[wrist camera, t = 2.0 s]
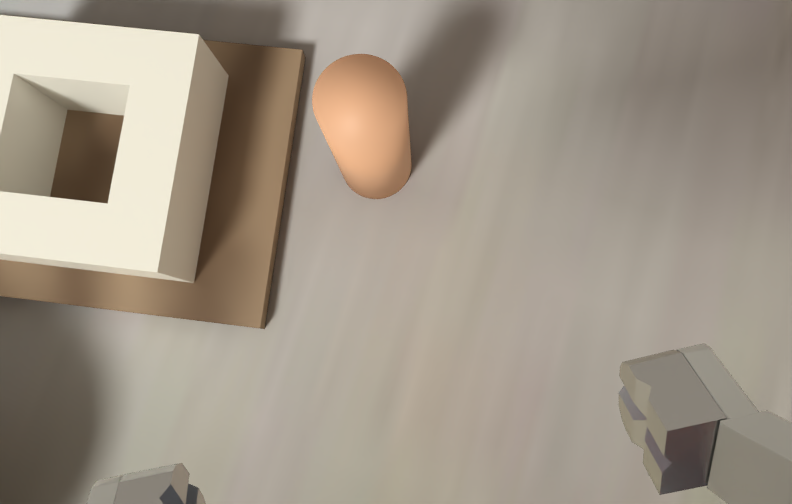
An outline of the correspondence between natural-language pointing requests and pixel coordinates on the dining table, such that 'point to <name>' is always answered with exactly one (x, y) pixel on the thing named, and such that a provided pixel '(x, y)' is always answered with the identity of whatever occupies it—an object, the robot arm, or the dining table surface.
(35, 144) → the socket block
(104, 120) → the base board
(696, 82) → the dining table surface
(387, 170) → the peg
